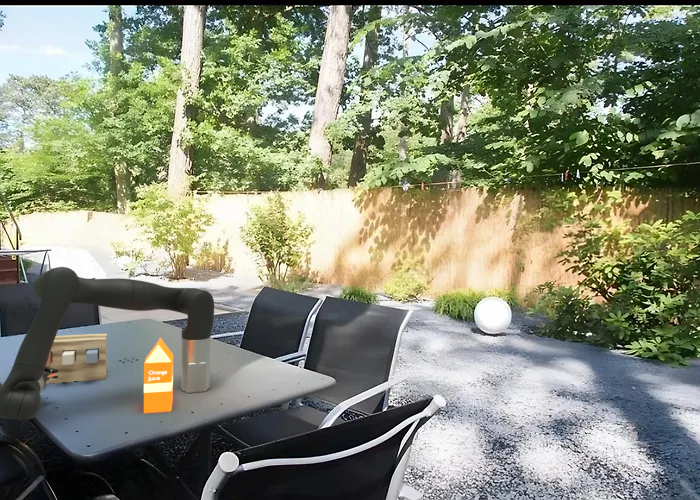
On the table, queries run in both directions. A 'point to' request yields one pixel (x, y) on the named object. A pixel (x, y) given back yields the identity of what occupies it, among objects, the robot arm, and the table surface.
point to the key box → (79, 358)
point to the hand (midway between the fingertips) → (39, 367)
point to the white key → (68, 357)
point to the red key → (49, 359)
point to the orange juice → (158, 379)
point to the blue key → (92, 355)
